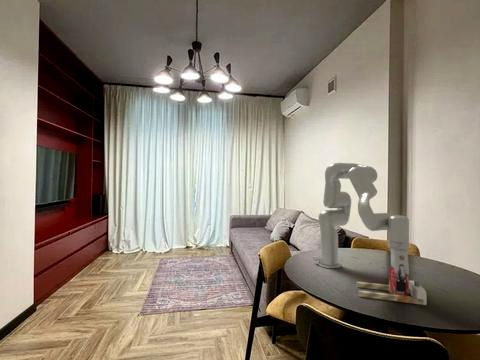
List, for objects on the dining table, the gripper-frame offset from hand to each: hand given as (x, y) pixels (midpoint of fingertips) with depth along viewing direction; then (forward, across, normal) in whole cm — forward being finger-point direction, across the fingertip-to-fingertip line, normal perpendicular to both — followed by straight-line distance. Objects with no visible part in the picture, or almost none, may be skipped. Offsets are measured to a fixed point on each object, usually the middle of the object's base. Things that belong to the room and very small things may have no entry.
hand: (398, 287), depth 111 cm
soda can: (+3, 0, 0) cm, 3 cm away
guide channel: (+4, 0, +4) cm, 6 cm away
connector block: (+4, 0, -7) cm, 7 cm away
